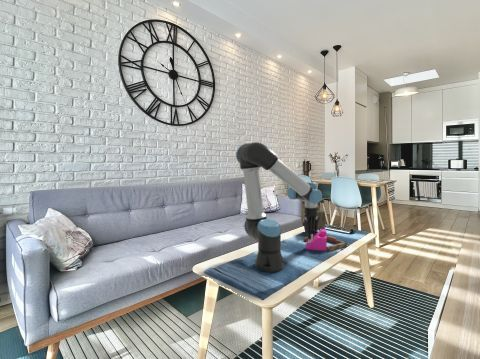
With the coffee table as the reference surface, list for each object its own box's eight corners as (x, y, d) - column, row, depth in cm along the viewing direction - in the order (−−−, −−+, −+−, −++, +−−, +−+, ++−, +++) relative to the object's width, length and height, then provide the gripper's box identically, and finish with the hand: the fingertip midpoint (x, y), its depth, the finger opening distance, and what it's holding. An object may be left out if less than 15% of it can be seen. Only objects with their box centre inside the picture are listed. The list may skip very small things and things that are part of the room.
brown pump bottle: (324, 235, 179) (325, 201, 177) (312, 235, 180) (312, 201, 178) (318, 229, 194) (319, 198, 192) (307, 230, 194) (307, 198, 192)
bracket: (325, 245, 160) (326, 229, 159) (326, 250, 150) (326, 234, 149) (306, 243, 164) (306, 228, 163) (305, 249, 154) (306, 232, 153)
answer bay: (328, 251, 149) (328, 246, 149) (303, 241, 168) (303, 236, 168) (346, 246, 156) (346, 241, 156) (321, 237, 175) (321, 232, 175)
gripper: (307, 209, 148) (307, 247, 150) (323, 206, 154) (322, 243, 156) (298, 207, 155) (298, 244, 157) (314, 204, 161) (314, 240, 163)
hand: (310, 243), depth 157 cm, fingers closed
